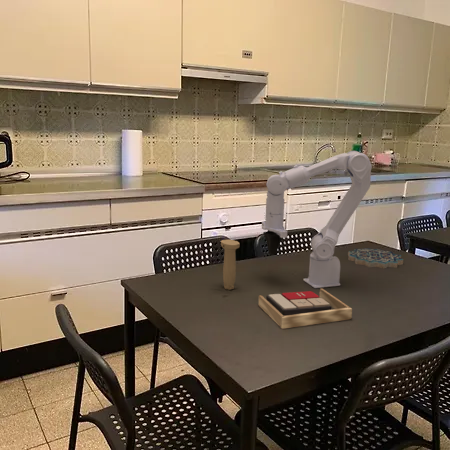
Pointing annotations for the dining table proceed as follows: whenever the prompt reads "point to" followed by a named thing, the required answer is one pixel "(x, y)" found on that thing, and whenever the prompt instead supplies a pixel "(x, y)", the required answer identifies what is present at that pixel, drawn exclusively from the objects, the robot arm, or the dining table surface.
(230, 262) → the handle
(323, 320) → the box
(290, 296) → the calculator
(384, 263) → the decorative tile
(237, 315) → the dining table surface
